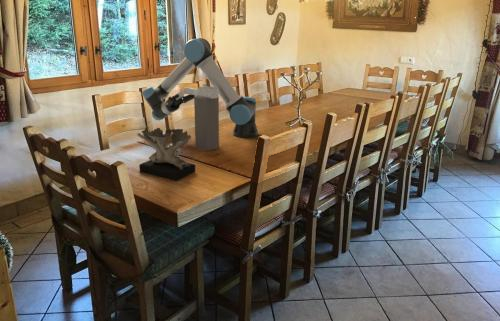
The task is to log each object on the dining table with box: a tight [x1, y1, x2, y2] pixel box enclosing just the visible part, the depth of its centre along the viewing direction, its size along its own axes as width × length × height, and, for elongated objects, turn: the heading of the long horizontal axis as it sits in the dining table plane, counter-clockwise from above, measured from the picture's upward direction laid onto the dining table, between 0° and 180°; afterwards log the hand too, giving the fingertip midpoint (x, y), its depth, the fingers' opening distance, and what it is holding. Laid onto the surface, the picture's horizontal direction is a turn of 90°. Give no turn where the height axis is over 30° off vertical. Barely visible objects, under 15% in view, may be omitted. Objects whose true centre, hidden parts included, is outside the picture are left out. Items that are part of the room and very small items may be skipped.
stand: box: [193, 96, 220, 152], centre depth 220 cm, size 9×9×28 cm
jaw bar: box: [183, 85, 219, 99], centre depth 217 cm, size 22×5×5 cm, turn 51°
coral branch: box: [166, 142, 184, 157], centre depth 205 cm, size 9×8×10 cm
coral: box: [136, 127, 196, 182], centre depth 182 cm, size 25×20×22 cm
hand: (192, 91), depth 220 cm, fingers open, 13 cm apart
